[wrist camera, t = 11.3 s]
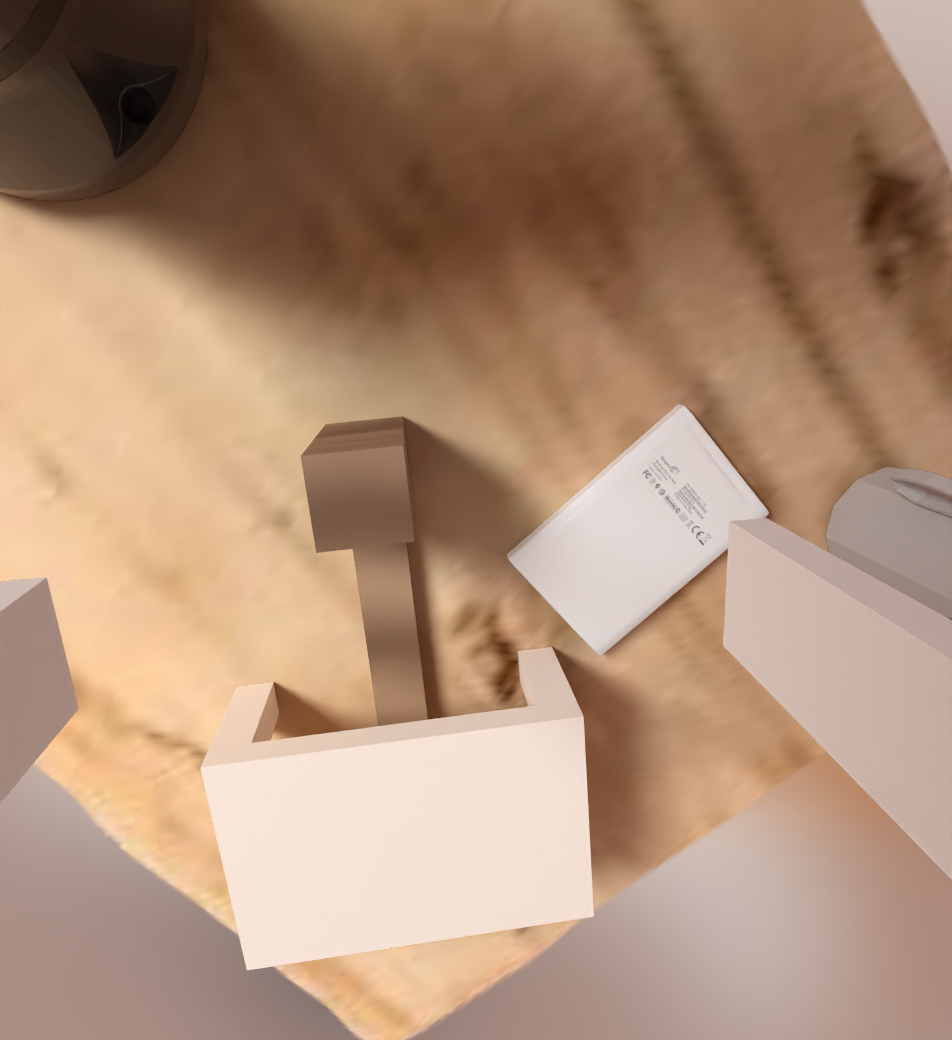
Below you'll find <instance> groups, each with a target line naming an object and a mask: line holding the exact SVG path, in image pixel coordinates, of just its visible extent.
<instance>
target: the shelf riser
mask: <svg viewBox="0 0 952 1040" xmlns="http://www.w3.org/2000/svg"><path fill="white" fill-rule="evenodd" d="M518 659H519V672H520V683H521V686H522V689H523V692H524V695H525V698H526V701H527V704H528V706H527V707H520V708H512V709H505V710H497V711H490V712H482V713H474V714H467V715H459V716H452V717H444V718H437V719H429V720H422V721H414V722H407V723H399V724H391V725H384V726H376V727H369V728H361V729H354V730H346V731H339V732H331V733H324V734H316V735H308V736H301V737H293V738H286V739H278V740H271V738H272V735H273V731H274V728H275V725H276V722H277V719H278V716H279V709H278V703H277V698H276V693H275V688H274V682H270V683H262V684H254V685H246V686H238V687H237V689H236V691H235V693H234V695H233V698H232V700H231V702H230V704H229V706H228V708H227V711H226V713H225V715H224V717H223V719H222V722H221V724H220V726H219V728H218V730H217V732H216V735H215V737H214V739H213V741H212V743H211V746H210V748H209V750H208V752H207V754H206V756H205V759H204V761H203V763H202V765H201V767H200V768H201V772H202V777H203V781H204V786H205V790H206V794H207V799H208V803H209V807H210V812H211V816H212V820H213V825H214V829H215V833H216V838H217V842H218V846H219V851H220V855H221V859H222V864H223V868H224V872H225V877H226V881H227V885H228V890H229V894H230V899H231V903H232V907H233V912H234V916H235V920H236V925H237V929H238V933H239V938H240V942H241V946H242V951H243V955H244V959H245V963H246V968H247V970H251V969H258V968H265V967H271V966H278V965H284V964H291V963H297V962H303V961H310V960H316V959H323V958H329V957H336V956H342V955H349V954H355V953H361V952H368V951H374V950H381V949H387V948H394V947H400V946H407V945H413V944H419V943H426V942H432V941H439V940H445V939H452V938H458V937H464V936H471V935H477V934H484V933H490V932H497V931H503V930H510V929H516V928H522V927H529V926H535V925H542V924H548V923H555V922H561V921H568V920H574V919H580V918H587V917H593V916H594V910H593V890H592V871H591V851H590V831H589V812H588V792H587V773H586V753H585V734H584V716H583V714H582V712H581V709H580V707H579V705H578V703H577V701H576V699H575V696H574V694H573V692H572V690H571V688H570V685H569V683H568V681H567V679H566V677H565V675H564V672H563V670H562V668H561V666H560V664H559V661H558V659H557V657H556V655H555V653H554V651H553V648H552V647H546V648H538V649H530V650H522V651H518Z"/></svg>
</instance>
